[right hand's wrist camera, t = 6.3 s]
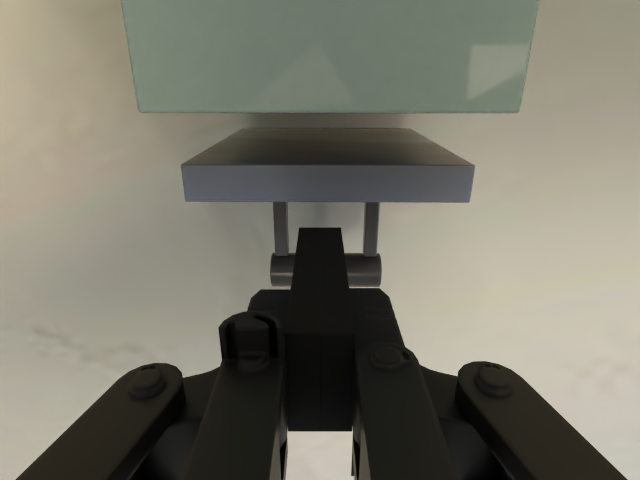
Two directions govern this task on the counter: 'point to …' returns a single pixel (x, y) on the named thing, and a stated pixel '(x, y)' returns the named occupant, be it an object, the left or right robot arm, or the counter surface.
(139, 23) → the cabinet
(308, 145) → the drawer
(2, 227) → the counter surface
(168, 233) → the counter surface
